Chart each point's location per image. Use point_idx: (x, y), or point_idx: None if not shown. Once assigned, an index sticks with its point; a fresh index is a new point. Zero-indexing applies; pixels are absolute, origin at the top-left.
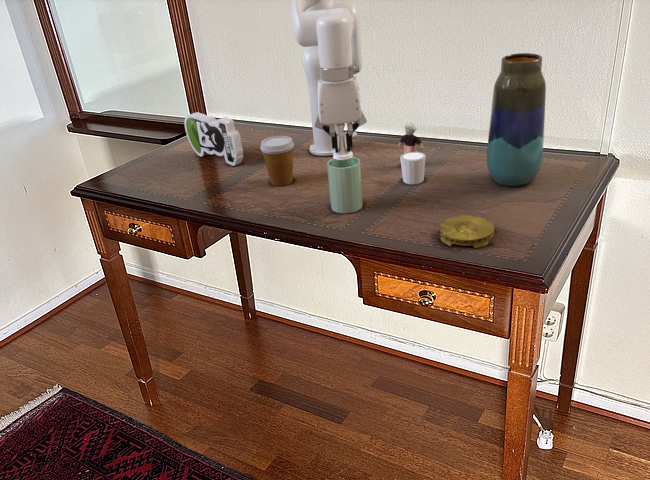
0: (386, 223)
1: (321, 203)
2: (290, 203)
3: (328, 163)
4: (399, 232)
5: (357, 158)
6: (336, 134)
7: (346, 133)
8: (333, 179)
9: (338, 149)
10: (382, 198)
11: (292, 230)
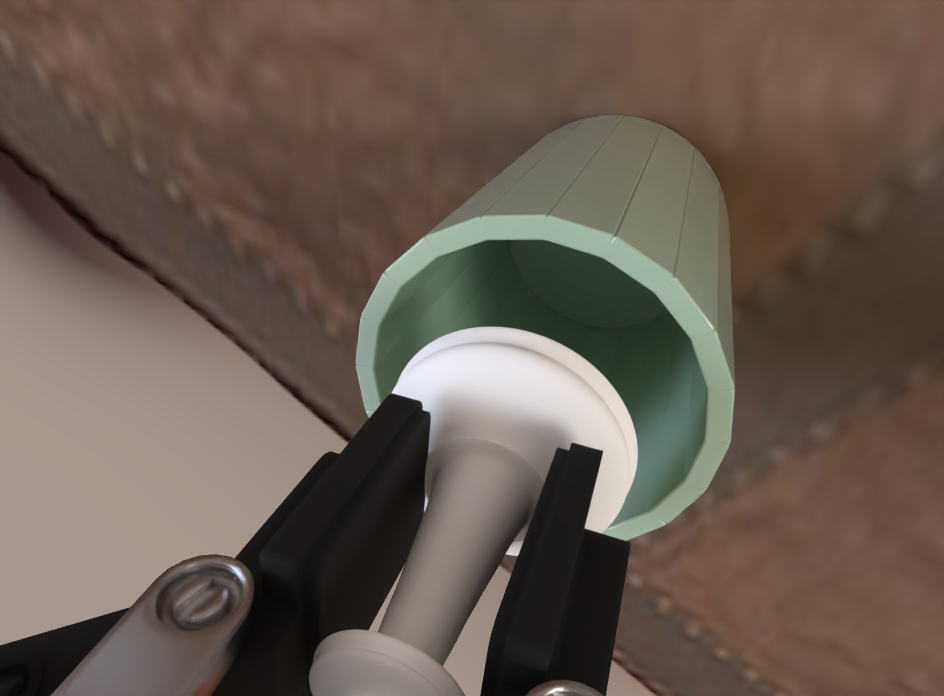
0: (766, 533)
1: (448, 108)
2: (248, 27)
3: (369, 360)
4: (787, 632)
5: (721, 377)
6: (311, 602)
7: (498, 670)
8: None
9: (432, 453)
10: (931, 195)
11: (292, 386)
